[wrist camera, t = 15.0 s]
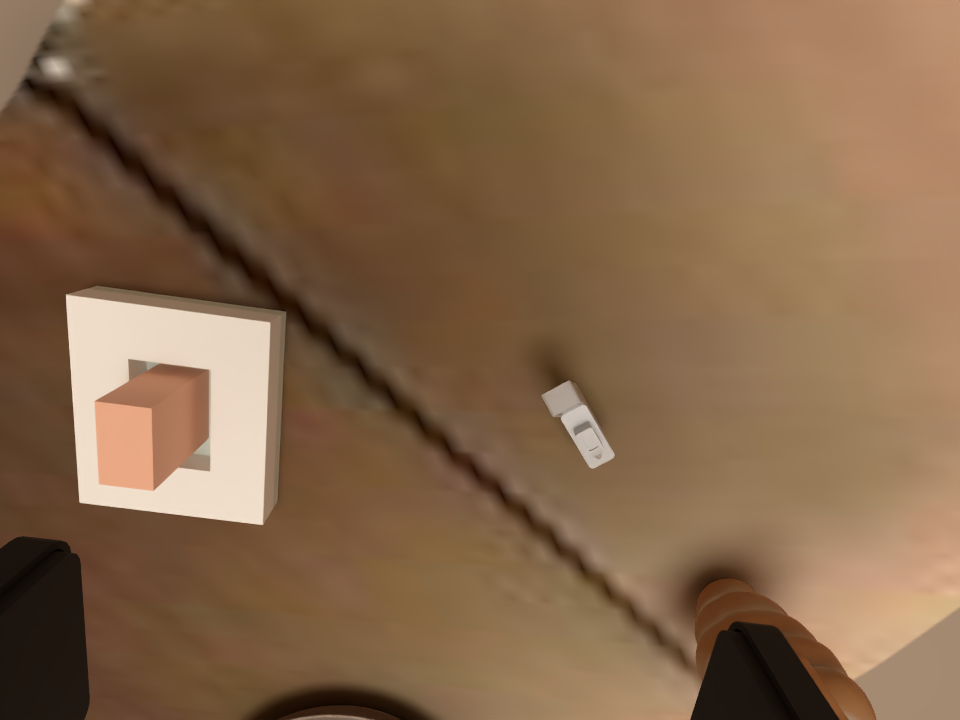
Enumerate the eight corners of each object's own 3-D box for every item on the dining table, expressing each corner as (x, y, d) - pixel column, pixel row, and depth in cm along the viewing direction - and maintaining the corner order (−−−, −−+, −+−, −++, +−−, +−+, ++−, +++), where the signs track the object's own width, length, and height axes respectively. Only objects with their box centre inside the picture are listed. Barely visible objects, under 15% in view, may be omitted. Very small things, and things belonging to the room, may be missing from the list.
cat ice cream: (731, 522, 43) (901, 754, 25) (793, 587, 44) (993, 847, 27) (636, 593, 44) (736, 854, 27) (700, 653, 46) (831, 935, 29)
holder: (97, 285, 37) (65, 294, 35) (286, 311, 38) (270, 322, 35) (107, 480, 42) (79, 502, 39) (277, 501, 42) (262, 524, 39)
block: (162, 362, 38) (94, 401, 31) (209, 368, 38) (151, 408, 31) (163, 432, 39) (99, 484, 33) (208, 438, 40) (153, 491, 33)
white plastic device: (602, 428, 40) (630, 486, 33) (579, 440, 41) (602, 500, 33) (552, 343, 39) (570, 383, 31) (529, 356, 39) (541, 399, 31)
